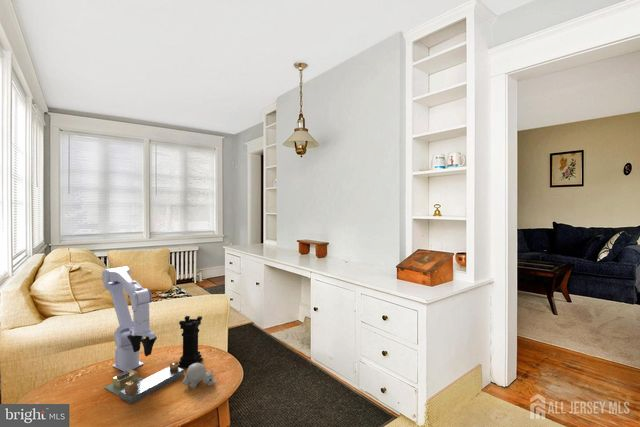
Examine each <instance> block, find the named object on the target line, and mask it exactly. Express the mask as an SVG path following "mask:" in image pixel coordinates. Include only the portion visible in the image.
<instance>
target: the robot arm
mask: <svg viewBox="0 0 640 427" xmlns="http://www.w3.org/2000/svg"><path fill="white" fill-rule="evenodd" d="M101 273H102V274H101V280H102V282H103V284H102V285H103V287H104V289H105V290H106V291H109V293H110V296H111V299H112V303H113V304H112V305H113V306H114V310H115V314H116V318H117V321H118V324H119V326H118V327H117V328H116V329H115V331H114V333H113V337H114V344H115V347H116V348H115V351H114V364H113V365H112V367H113V368H116V369H118V370H121V371H122V372H125V371H128V370H130V369H131V370H134V369H137V368H139V367H141V366H142V365H144V362H142V361H140V350H141V344H142V346H143V352H144V356H145V357H148V356H150V355H152V351H153V347H154V345H155V342H156V340H157V338H158V336H156V332H154V331H152V329H151V326H150V324H151V323H150V303H151V302H152V298H153V296H152V295H153V294H152V292H151V290H150V289H149V288H144V287H143V286H142V285H141V284H140V283H139V282H138V281H137V280H133V278H132V277H131V269H130V267H128V266H127V265H125V266H120V267H119V266H117V267H113V268H104V269H103V270H102V272H101ZM125 293H126V294H127V296H128V297H129V300H130V305H131V310H132V313H133V314H132V316H131V313H130V312H131V311H130V310H129V306H128V302H127V299H126V295H125ZM132 317H133V319H132Z"/></svg>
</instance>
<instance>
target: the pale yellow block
mask: <svg viewBox="0 0 640 427" xmlns="http://www.w3.org/2000/svg"><path fill="white" fill-rule="evenodd" d="M138 377H139V372H138V371H136V370H134V369H132V370H131V369H130V370H128V371H125V372H124V371H122V372H121V373H118V374H117V375H115V376H114V377H112V383H113V387H115V388H117V389H119V390H121V389H123V388H125V383H127V382H129V381H131V380H133V379H134V380H136V381H138Z"/></svg>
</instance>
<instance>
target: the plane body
mask: <svg viewBox="0 0 640 427" xmlns="http://www.w3.org/2000/svg"><path fill="white" fill-rule="evenodd" d="M178 365H179V361H172V362H169V366H168V367H166V368H163V369H162V370H160V371H157V372H156V373H153V374H151V375H150V376H148V377H146V378H143V379H144V380H142V381H140V382H138V383H137V381H136V380H134V379H133V380H131V381H129V382H127V383H125V389H124V390H122V391H120V395H119V398H120V399H121V400H123V401H125V402H127V403H129V404H131V405H135V403H137V402H139V401H140V400H143V399H145V398H146V397H148V396H150V395H152V394H153V393H156V392H157V391H159V390H160V389H162V388H164V387H166V386H167V385H170V384H171V383H173V382H175V381H177V380H178V379H180V378H182V377H184V376H185V370H184V369H185V368H179V367H178Z"/></svg>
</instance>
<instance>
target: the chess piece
mask: <svg viewBox="0 0 640 427" xmlns="http://www.w3.org/2000/svg"><path fill="white" fill-rule="evenodd" d="M202 320H203V316H199V315H198V316H197V317H196V318H191V317H190V315H185V316H184V320H179V321H178V325H179V326H180V328H179V329H180V330H182V333H181V337H182V355H181V356H180V358H179V361H178V367H179V368H181V369H188V368H189V366H190V365H192V364H194V363H202V361H203V360H204V358H203V357H202V356H203V354H201V351H199V332H200V329H199V326H200V325H202Z"/></svg>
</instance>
